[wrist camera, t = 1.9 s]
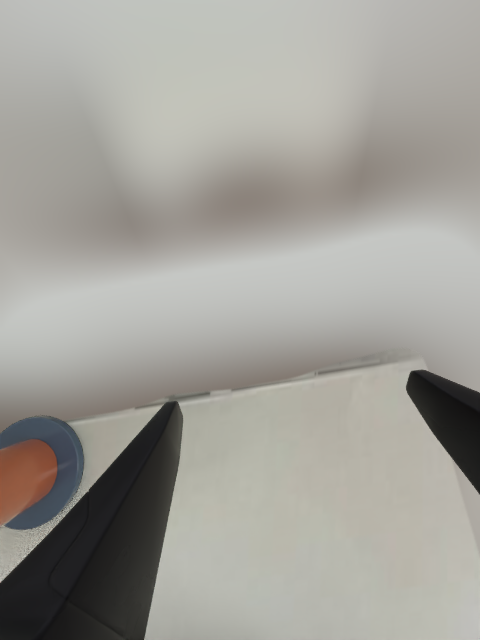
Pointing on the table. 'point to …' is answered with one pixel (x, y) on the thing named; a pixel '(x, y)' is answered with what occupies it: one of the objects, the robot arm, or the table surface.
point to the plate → (67, 460)
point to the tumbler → (25, 476)
